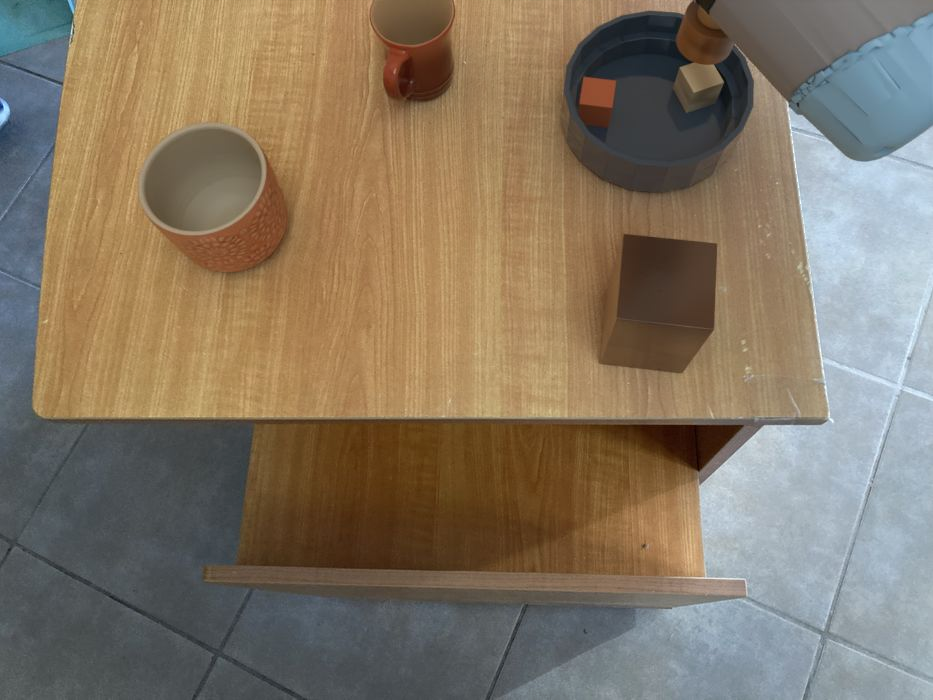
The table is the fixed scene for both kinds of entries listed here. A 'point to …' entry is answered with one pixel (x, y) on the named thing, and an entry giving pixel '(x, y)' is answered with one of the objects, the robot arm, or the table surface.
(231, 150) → the planter
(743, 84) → the bowl
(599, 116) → the terracotta block
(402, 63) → the mug
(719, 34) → the pestle
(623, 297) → the stand
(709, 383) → the table surface
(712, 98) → the cream block
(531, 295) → the table surface
